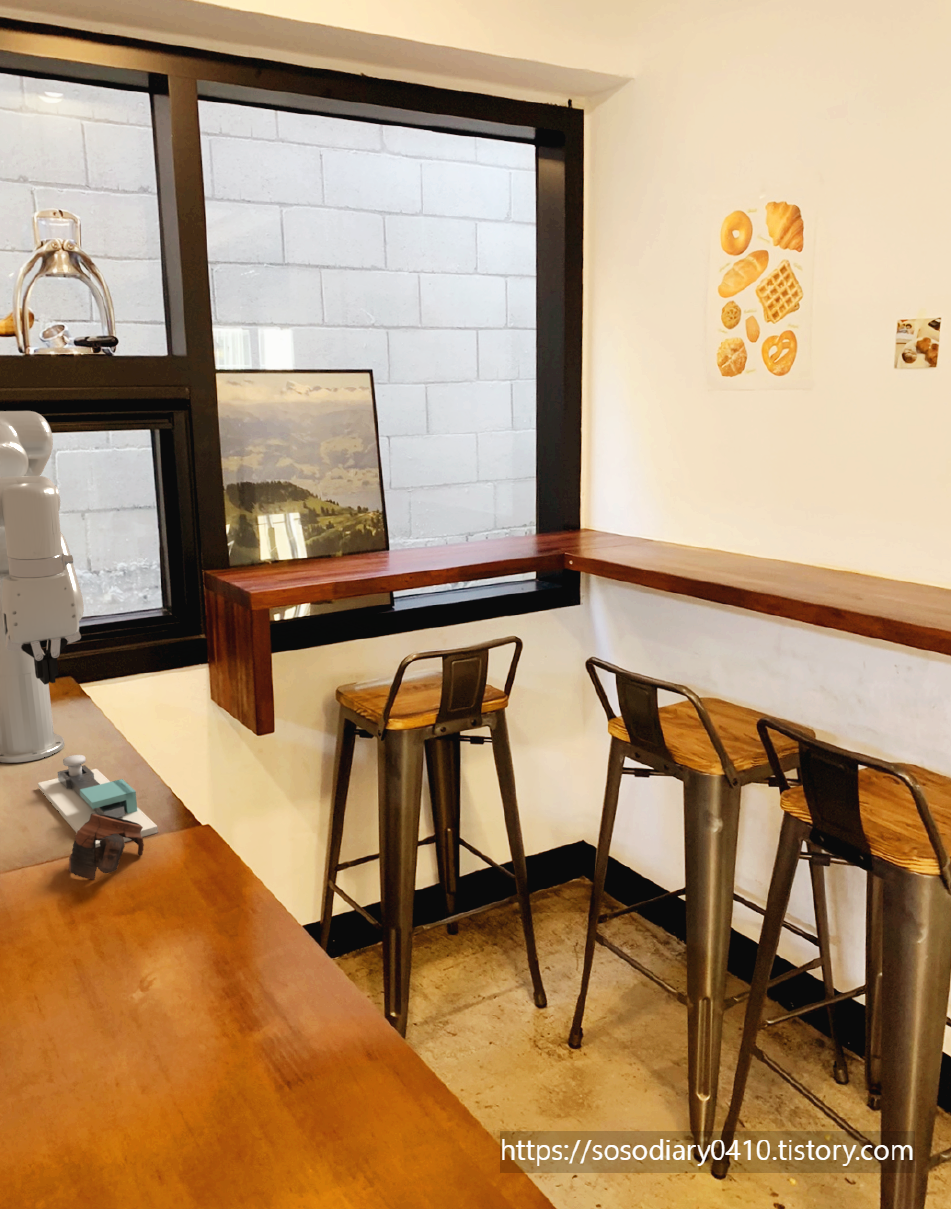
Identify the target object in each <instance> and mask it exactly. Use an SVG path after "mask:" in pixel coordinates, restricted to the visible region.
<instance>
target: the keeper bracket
mask: <svg viewBox="0 0 951 1209" xmlns="http://www.w3.org/2000/svg"><path fill="white" fill-rule="evenodd" d="M80 796H81V797H82V798H83V799H84V800H85V801H86V802H87V803H88V804H89V805H90V806H91V807H92V809H94V808H98V807H102V806H105V805H109V804H113V803H117V802H120V803H121V804H122V805H123V806H124V811H125V812H126V813H127V814H129V813H132V812H136V811H137V807H138V803H137V791H136V790H135V789H134V788H133V787H132V786H131V785H129V783H127V782H126V781H125V780H124V779H123V778H120V779H117V780H113V781H110V782H108V783H104V784H100V785H96V786H92V787H88V788H84V789H80Z"/></svg>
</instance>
